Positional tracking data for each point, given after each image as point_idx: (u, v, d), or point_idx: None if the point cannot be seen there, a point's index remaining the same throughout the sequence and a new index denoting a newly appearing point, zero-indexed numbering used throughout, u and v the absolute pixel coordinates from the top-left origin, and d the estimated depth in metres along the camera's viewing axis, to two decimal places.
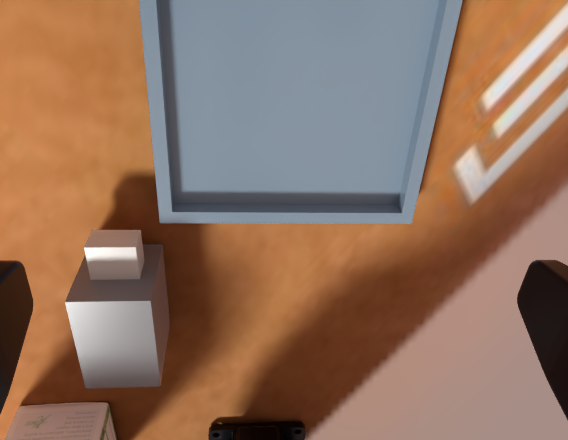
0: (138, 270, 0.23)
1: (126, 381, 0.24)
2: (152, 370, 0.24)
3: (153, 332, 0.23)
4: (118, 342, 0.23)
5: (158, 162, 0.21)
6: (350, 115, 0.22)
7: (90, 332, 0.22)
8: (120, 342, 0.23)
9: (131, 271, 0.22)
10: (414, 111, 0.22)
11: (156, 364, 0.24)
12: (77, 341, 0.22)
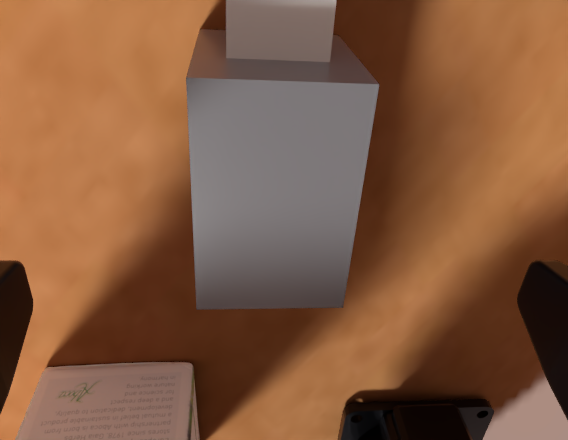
0: (332, 37, 0.10)
1: (280, 295, 0.12)
2: (337, 270, 0.12)
3: (362, 174, 0.10)
4: (283, 197, 0.10)
5: None
6: None
7: (230, 169, 0.10)
8: (287, 198, 0.10)
9: (316, 39, 0.10)
10: None
11: (348, 256, 0.11)
12: (198, 192, 0.10)
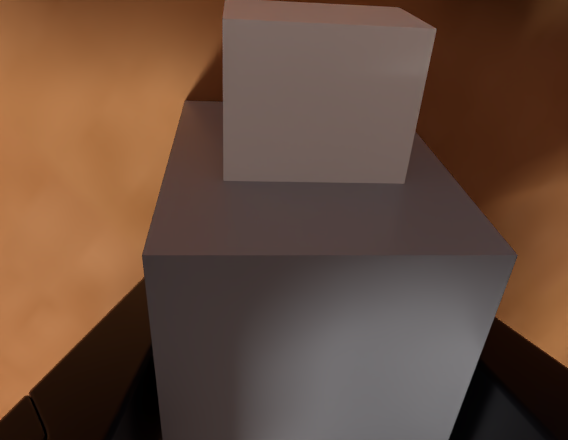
0: (411, 144, 0.06)
1: None
2: None
3: (464, 386, 0.06)
4: (323, 422, 0.06)
5: None
6: None
7: (231, 389, 0.06)
8: (330, 423, 0.06)
9: (383, 148, 0.06)
10: None
11: None
12: (172, 421, 0.06)
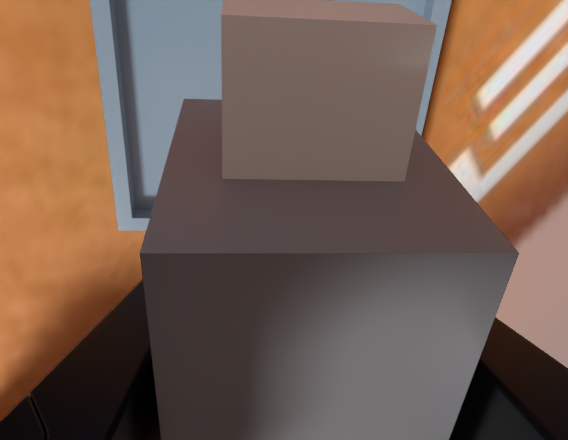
0: (411, 142, 0.06)
1: None
2: None
3: (465, 385, 0.06)
4: (323, 421, 0.06)
5: (114, 162, 0.19)
6: None
7: (229, 388, 0.05)
8: (330, 422, 0.06)
9: (384, 146, 0.06)
10: None
11: None
12: (171, 421, 0.06)
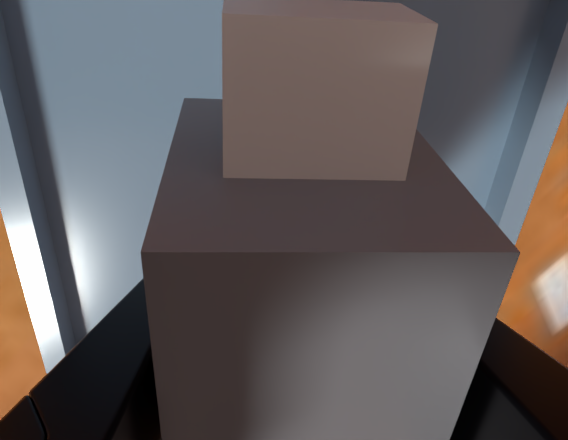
0: (412, 141, 0.06)
1: None
2: None
3: (466, 384, 0.06)
4: (324, 421, 0.06)
5: (34, 301, 0.12)
6: None
7: (230, 387, 0.05)
8: (331, 422, 0.06)
9: (384, 145, 0.06)
10: None
11: None
12: (172, 420, 0.06)
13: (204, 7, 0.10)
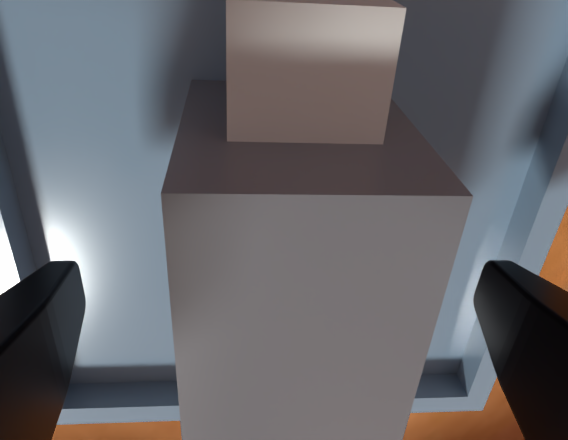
0: (388, 109, 0.07)
1: None
2: (387, 433, 0.08)
3: (434, 317, 0.07)
4: (313, 349, 0.07)
5: None
6: None
7: (234, 316, 0.06)
8: (320, 350, 0.07)
9: (364, 113, 0.07)
10: (501, 235, 0.12)
11: (405, 416, 0.08)
12: (184, 347, 0.07)
13: (200, 20, 0.09)
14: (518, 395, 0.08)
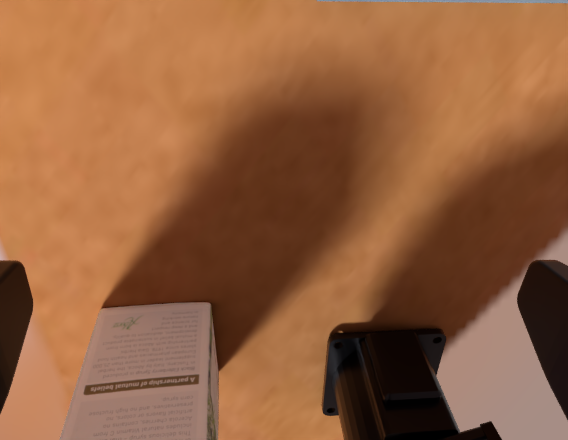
0: None
1: None
2: None
3: None
4: None
5: None
6: None
7: None
8: None
9: None
10: None
11: None
12: None
13: None
14: None
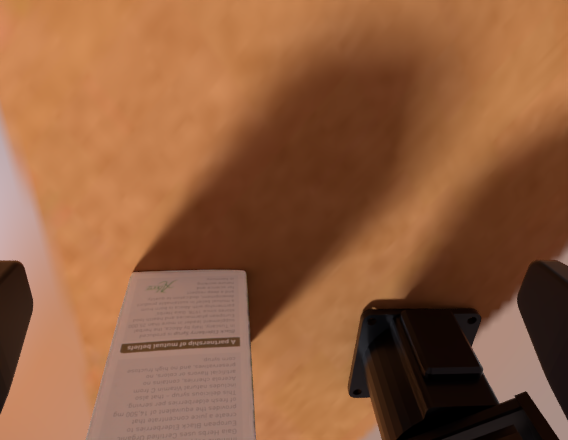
0: None
1: None
2: None
3: None
4: None
5: None
6: None
7: None
8: None
9: None
10: None
11: None
12: None
13: None
14: None
